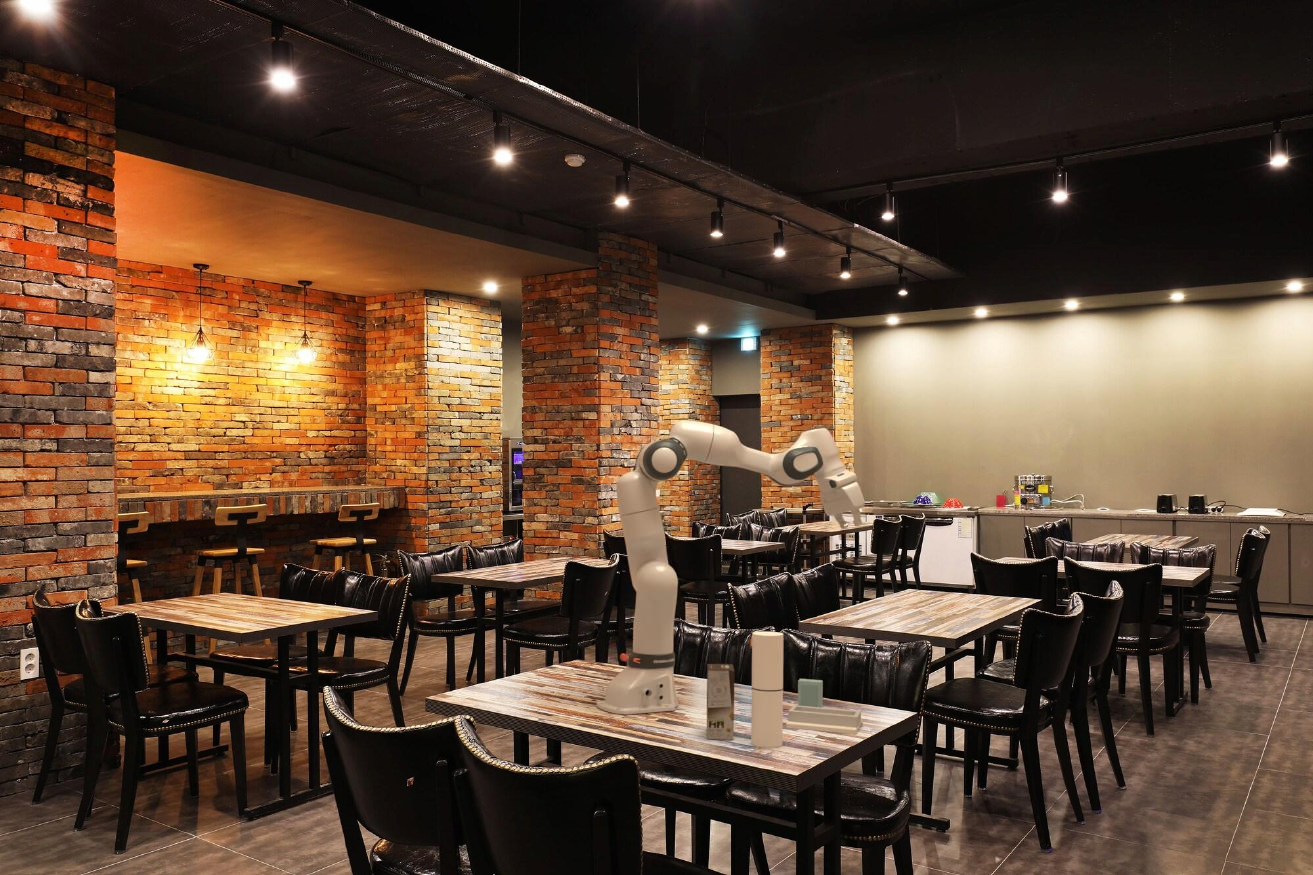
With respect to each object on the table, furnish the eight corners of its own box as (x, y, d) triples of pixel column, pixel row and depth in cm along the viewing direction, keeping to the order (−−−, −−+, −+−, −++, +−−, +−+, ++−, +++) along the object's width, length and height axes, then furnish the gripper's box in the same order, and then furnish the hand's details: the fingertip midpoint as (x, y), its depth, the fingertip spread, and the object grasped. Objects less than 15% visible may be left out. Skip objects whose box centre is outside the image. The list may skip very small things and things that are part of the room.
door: (820, 715, 247) (820, 682, 248) (797, 713, 249) (798, 680, 250) (822, 712, 250) (822, 680, 251) (800, 710, 252) (800, 678, 253)
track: (855, 734, 227) (855, 719, 227) (785, 727, 233) (785, 713, 233) (862, 722, 239) (862, 708, 240) (795, 716, 245) (795, 703, 245)
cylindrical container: (747, 745, 215) (748, 634, 216) (755, 738, 221) (756, 630, 223) (778, 749, 212) (779, 636, 214) (785, 741, 219) (786, 632, 220)
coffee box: (734, 740, 219) (735, 670, 220) (706, 739, 220) (707, 669, 221) (732, 730, 228) (733, 663, 230) (705, 730, 229) (706, 663, 230)
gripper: (810, 489, 277) (827, 533, 276) (838, 480, 258) (857, 528, 257) (828, 481, 279) (846, 525, 278) (858, 472, 260) (877, 520, 259)
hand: (851, 526), depth 267 cm, fingers open, 8 cm apart
